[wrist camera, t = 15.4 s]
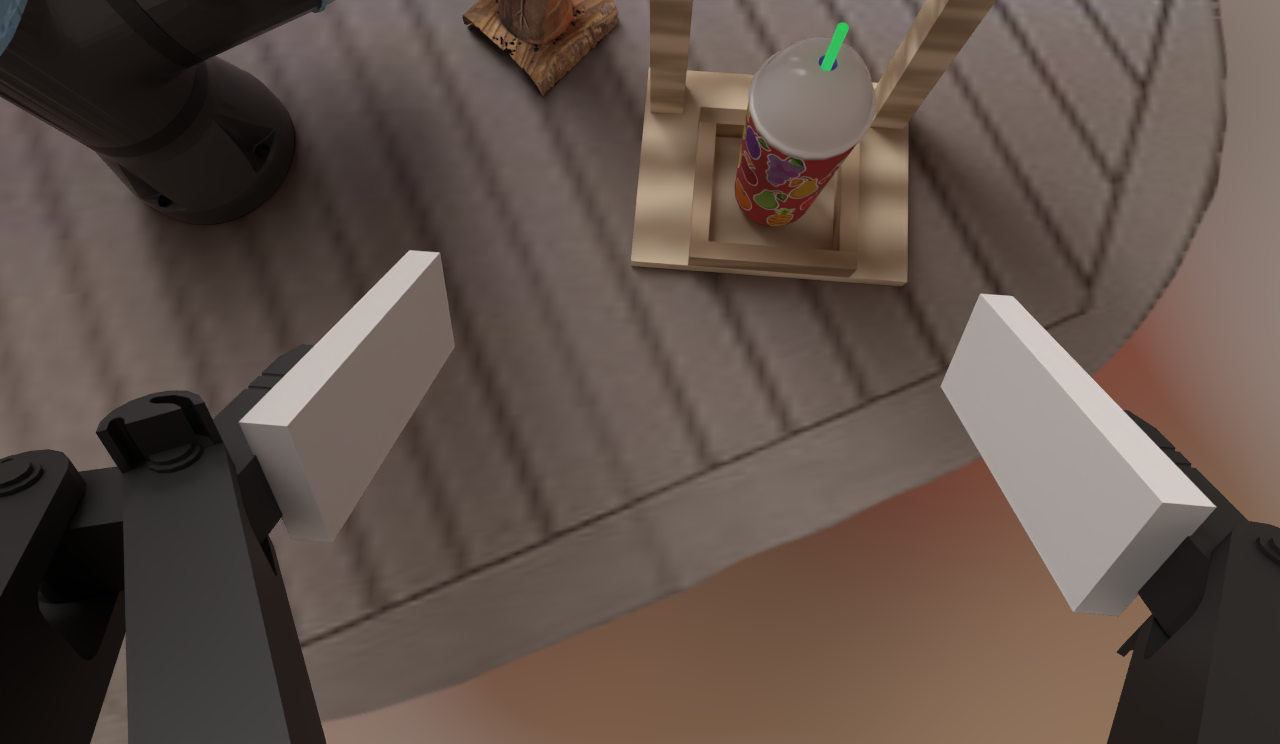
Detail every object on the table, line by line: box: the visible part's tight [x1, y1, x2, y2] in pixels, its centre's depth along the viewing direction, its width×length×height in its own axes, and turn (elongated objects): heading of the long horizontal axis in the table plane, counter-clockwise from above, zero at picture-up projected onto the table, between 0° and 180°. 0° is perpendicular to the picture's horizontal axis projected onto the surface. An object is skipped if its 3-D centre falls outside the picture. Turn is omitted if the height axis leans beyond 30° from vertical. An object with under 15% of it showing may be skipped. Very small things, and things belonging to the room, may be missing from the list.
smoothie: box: [735, 23, 876, 226], centre depth 42 cm, size 8×8×20 cm
